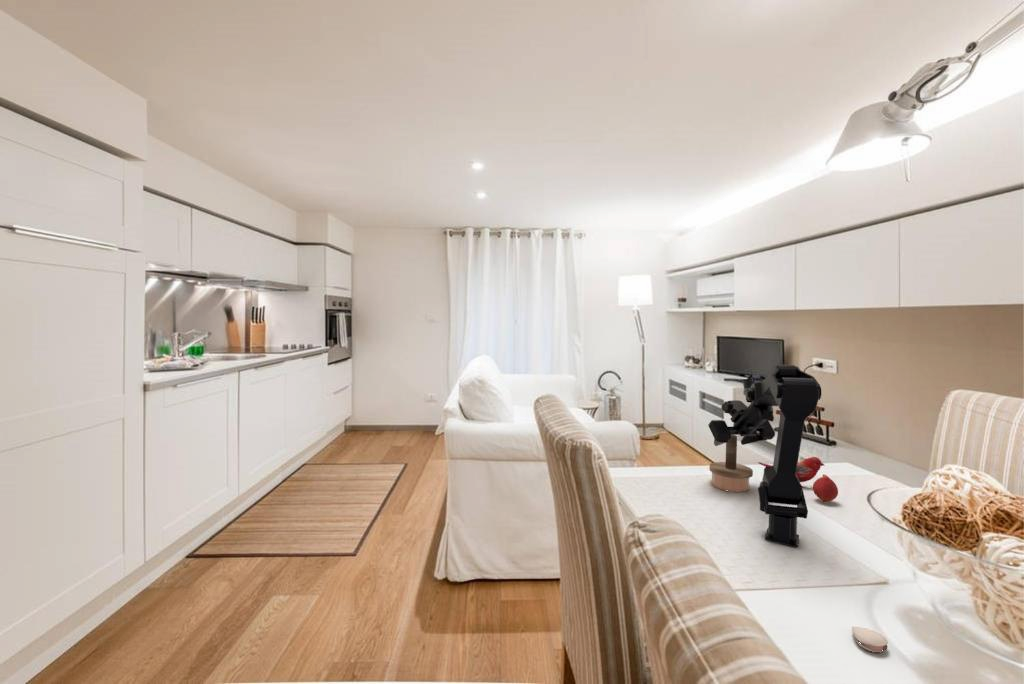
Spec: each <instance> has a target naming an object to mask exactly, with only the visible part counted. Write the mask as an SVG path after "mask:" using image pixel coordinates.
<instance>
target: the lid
mask: <svg viewBox="0 0 1024 684" xmlns="http://www.w3.org/2000/svg"><path fill="white" fill-rule="evenodd" d="M737 451H738V435H731V439H730V440H728V442H726V443H725V461H715V462H711V463H709V466H708V467H709V468H708V469H709V471H710V473H711V474H712V473H714V474H717V475H720V476H724V477H728V478H737V479H744V478H749V479H750V478H752V477H753V475H754V471H753V469H752V468H751V467H750V466H747V465H744V464H741V463H737Z"/></svg>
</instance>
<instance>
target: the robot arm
mask: <svg viewBox="0 0 1024 684" xmlns="http://www.w3.org/2000/svg"><path fill="white" fill-rule="evenodd" d="M742 386H743V395H744V396H745V401H746V402H747V403H749V404H748V406H747V405H746V404H745V403H744V402H743V401H741V400H736V399H735V400H727V401H723V403H722V405H721V410H722V412H723V413H724V414H728V415H729V416H731V417H730V418H729V420H730V421H731V423H733V426H728V424H727V422H726V421H725V420H724V419H712V420H710V422H709V423H708V428H709V430H710V432H711V434H712V436H713V438H714V440H713V445H714V447H718V446H721V445H724V444H726V442H728V440H730V439H731V435H736V436H740V437H742V439H741V441H740V444H741V445H742V446H745V445H749V444H750V445H751V444H754V443H758V442H764V441H765V442H766V441H768V440H773V439H774V438H775V436H776V431H775V429H774V428H773V426H772V425H771V422H774V419H775V417H774V412H775V411H774V408H773V407H778V408H779V410H780V413H779V414H780V415H779V416H780V417H779V420H778V421H779V422H778V429H777V430H778V431H777V436H776V443H775V450H774V457H773V464H772V466H771V467H770V466H764V468H763V475H762V481H760V482H759V486H758V487H757V491H758V498H759V499H758V501H759V511H761V512H762V513H764V514H765V515H768V525H767V526H768V527H767V528H766V532H765V535H764V539H765V540H766V541H769V542H773V543H778V544H782V545H785V546H790V547H794V548H798V547H799V540H800V535H799V534H798V518H799V519H800V518H801V519H802V518H803V519H807V518H808V513H809V509H808V506H807V503H806V502H807V501H806V497H805V494H804V490H803V489H804V488H803V487H802V486H803V485H802V484H801V482H799V480H798V478H797V476H796V470H797V464H798V462H799V457H800V453H801V452H800V451H801V444H802V441H803V439H802V438H803V433H804V427H805V423H806V422H805V421H806V420H807V419H808V418H809V416H811V415H812V414H813V413H814V412H815V411H816V410H817V406H818V403H819V400H821V398H822V387H821V385H820V383H819V382H818V380H817V379H816V378H815V376H813V375H811V374H809V373H807V372H805V371H803V370H801V369H800V367H799V366H797V365H794V364H775V365H772V368H771V371H770V373H769V374H767V376H766V377H765V378H764V379H763V378H762V377H761V375H760V374H752V376H751V377H748V378H746V379H745V380H743V381H742ZM801 485H802V486H801ZM778 504H779V505H778ZM780 504H781V505H780ZM785 505H786V506H785ZM794 506H795V507H794Z"/></svg>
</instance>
